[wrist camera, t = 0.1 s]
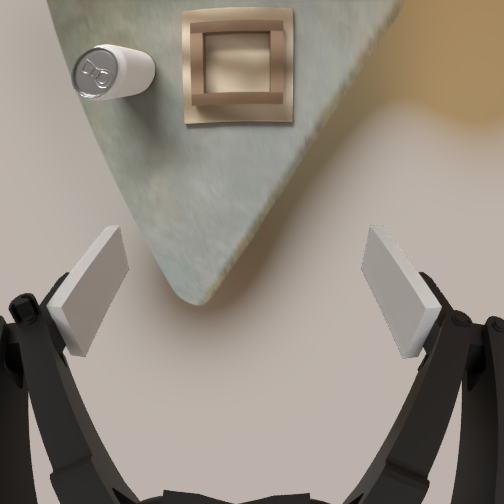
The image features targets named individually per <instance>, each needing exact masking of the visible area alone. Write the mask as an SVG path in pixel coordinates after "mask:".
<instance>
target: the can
mask: <svg viewBox="0 0 504 504" xmlns="http://www.w3.org/2000/svg"><path fill="white" fill-rule="evenodd" d="M154 76H155V65H154V62H153V60H152V59H151V57H150V56H149V55H147V54H146V53H144V52H141V51H137V50H133V49H129V48H125V47H120V46H115V45H99V46H96V47H94V48H91V49H88V50H86V51H85V52H84V53H82V54H81V55H80V56H79V57H78V59H77V60H76V62H75V64H74V66H73V69H72V74H71V80H72V85H73V87H74V89H75V91H76V92H77V93H78V94H79V95H81V96H82V97H85V98H87V99H90V100H94V101H102V100H108V99H114V98H120V97H126V96H132V95H136V94H139V93H141V92H143V91H145V90H146V89H147V88H148V87H149V86H150V84H151V83H152V81H153V79H154Z"/></svg>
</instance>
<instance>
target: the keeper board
mask: <svg viewBox="0 0 504 504" xmlns="http://www.w3.org/2000/svg"><path fill="white" fill-rule="evenodd" d="M182 65H183V96H184V118H185V124H191V123H208V122H238V121H276V122H292V114H293V8H279V7H228V8H211V9H199V10H189V11H182Z"/></svg>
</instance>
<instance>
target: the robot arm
mask: <svg viewBox="0 0 504 504" xmlns="http://www.w3.org/2000/svg"><path fill="white" fill-rule="evenodd" d="M128 270H129V267H128V262H127V258H126V253H125V249H124V244H123V240H122V235H121V230H120V226H107V227H106V228H105V229H104V230H103V232H102V233H101V234H100V235H99V237H98V238H97V239H96V240H95V241H94V242H93V244H92V245H91V246H90V248H89V249H88V250H87V251H86V252H85V254H84V255H83V256H82V258H81V259H80V260H79V261H78V263H77V264H76V266H75V267H74V268H73V269H72V271H71V272H70V273H68V272H67V273H66V274H64V275H63V276H62V277H60V278H59V279H58V281H57V282H56V283H55V285H54V287H52V289H51V290H50V292H49V293H48V294H47V295H46V297H45V298H44V300H43V301H42V302H41V304H40V305H38V303H37V301H36V298H35V296H34V295H33V294H31V293H25V294H22V295H19V296H18V297H16V298H15V299H14V300H13V301H12V302H11V303H10V305H9V311H10V313H11V315H12V317H13V319H14V320H15V322H16V323H10V324H7V323H6V322H5V320H4V318H3V317H2V316H0V504H38V503H37V497H36V492H35V486H34V479H33V471H32V463H31V453H30V440H29V418H28V391H29V395H30V399H31V403H32V407H33V410H34V414H35V418H36V421H37V425H38V428H39V431H40V434H41V437H42V440H43V443H44V446H45V449H46V452H47V454H48V457H49V460H50V462H51V465H52V468H53V473H51V474H50V480H51V483H52V486H53V488H54V491H55V493H56V495H57V497H58V500H59V502H60V504H232V503H228V502H225V501H221V500H217V499H214V498H210V497H207V496H204V495H200V494H194V493H185V492H176V491H169V490H164V492H163V496H158V497H153V498H149V499H146V500H143V501H141V502H140V501H139V499H138V498H137V497H136V495H135V494H134V493H133V492H132V491H131V489H130V488H129V487H128V486H127V484H126V483H125V482H124V480H123V478H122V477H121V475H120V473H119V472H118V470H117V468H116V467H115V465H114V463H113V462H112V460H111V458H110V456H109V454H108V452H107V451H106V449H105V447H104V445H103V443H102V441H101V439H100V437H99V436H98V433H97V431H96V430H95V427H94V425H93V423H92V421H91V419H90V417H89V414H88V412H87V410H86V408H85V406H84V404H83V401H82V399H81V396H80V394H79V392H78V389H77V387H76V384H75V382H74V379H73V377H72V374H71V371H70V369H69V366H68V363H67V360H66V357H65V356H64V354H63V350H64V348H65V346H67V349H68V350H69V352H70V354H71V355H75V356H81V357H86V354H87V352H88V350H89V348H90V345H91V343H92V341H93V339H94V337H95V335H96V333H97V331H98V328H99V326H100V324H101V322H102V320H103V318H104V316H105V314H106V312H107V310H108V308H109V306H110V304H111V302H112V300H113V299H114V297H115V294H116V293H117V291H118V289H119V287H120V285H121V283H122V281H123V280H124V278H125V276H126V274H127V272H128ZM361 270H362V272H363V274H364V276H365V278H366V280H367V282H368V284H369V286H370V288H371V290H372V292H373V294H374V296H375V298H376V300H377V303H378V304H379V307H380V309H381V311H382V313H383V315H384V317H385V320H386V322H387V324H388V326H389V328H390V330H391V333H392V335H393V337H394V340H395V342H396V344H397V346H398V349H399V351H400V353H401V355H402V358H403V359H405V358H412V357H418V355H419V353H420V352H421V350H422V347H424V349H425V351H426V355H425V357H424V359H423V361H422V363H421V365H420V366H419V368H418V374H417V376H416V378H415V381H414V383H413V385H412V388H411V390H410V392H409V394H408V396H407V398H406V401H405V403H404V405H403V407H402V409H401V411H400V413H399V415H398V417H397V419H396V421H395V423H394V425H393V427H392V428H391V430H390V432H389V434H388V436H387V438H386V440H385V441H384V443H383V445H382V447H381V448H380V450H379V452H378V453H377V455H376V457H375V458H374V460H373V462H372V463H371V465H370V467H369V468H368V470H367V472H366V473H365V475H364V476H363V478H362V479H361V481H360V482H359V484H358V485H357V487H356V488H355V489H354V490H353V492H352V493H351V494H350V495H349V496H348V498H347V499H346V500H345V501H344V503H343V504H421V503H422V501H423V499H424V497H425V495H426V493H427V491H428V488H429V483H430V482H429V480H427V477H428V474H429V472H430V469H431V467H432V465H433V462H434V460H435V458H436V455H437V453H438V450H439V448H440V445H441V443H442V440H443V438H444V435H445V432H446V429H447V426H448V423H449V420H450V418H451V415H452V412H453V408H454V405H455V402H456V398H457V395H458V391H459V388H460V384H461V380H462V413H461V432H460V444H459V454H458V462H457V470H456V477H455V483H454V489H453V495H452V500H451V504H504V320H503V319H501V318H498V317H496V316H491V317H489V318H488V319H487V321H486V323H485V325H481V324H475V323H472V321H471V319H470V318H469V316H467V315H466V314H465V313H463V312H461V311H457V310H453V308H452V307H451V305H450V304H449V302H448V301H447V300H446V298H445V297H444V295H443V294H442V293H441V292H440V290H439V288H438V287H436V284H435V283H434V281H433V280H432V278H430V277H429V276H428V275H426V274H425V273H424V272H418V271H417V270H416V269H415V267H414V266H413V264H412V263H411V262H410V260H409V259H408V258H407V256H406V255H405V254H404V252H403V251H402V250H401V248H400V247H399V246H398V244H397V243H396V242H395V240H394V239H393V238H392V237H391V235H390V234H389V233H388V231H387V230H386V229H385V228H384V226H375V225H370V229H369V234H368V239H367V244H366V249H365V254H364V258H363V263H362V268H361ZM241 504H329V503H326V502H324V501H319V500H314V499H310V493H306V494H293V495H277V496H271V497H267V498H263V499H259V500H254V501H250V502H245V503H241Z"/></svg>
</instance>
